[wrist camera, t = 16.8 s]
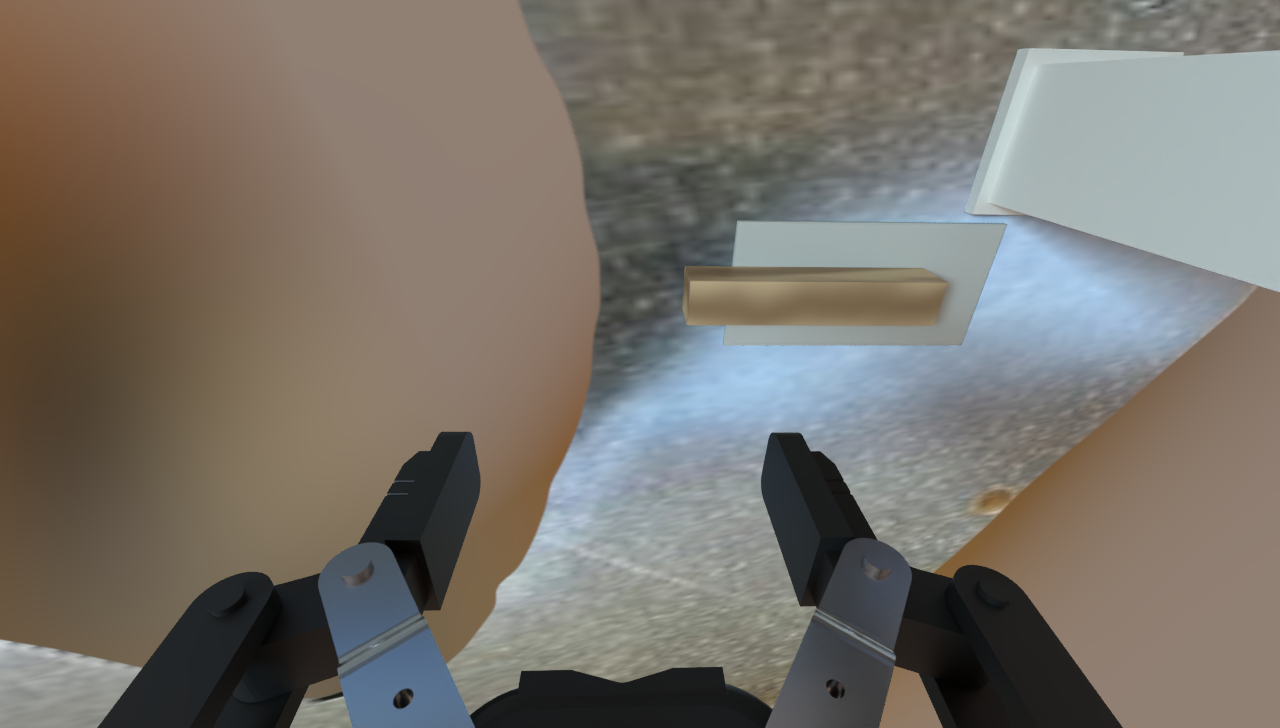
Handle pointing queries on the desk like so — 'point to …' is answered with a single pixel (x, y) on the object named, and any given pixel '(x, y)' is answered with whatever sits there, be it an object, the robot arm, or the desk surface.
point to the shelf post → (1144, 153)
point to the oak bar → (811, 296)
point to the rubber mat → (932, 246)
